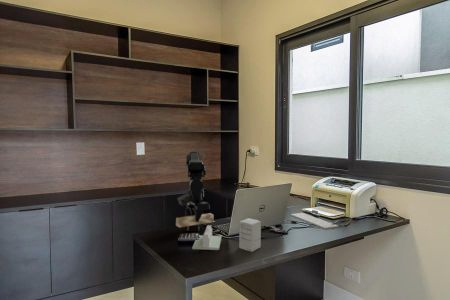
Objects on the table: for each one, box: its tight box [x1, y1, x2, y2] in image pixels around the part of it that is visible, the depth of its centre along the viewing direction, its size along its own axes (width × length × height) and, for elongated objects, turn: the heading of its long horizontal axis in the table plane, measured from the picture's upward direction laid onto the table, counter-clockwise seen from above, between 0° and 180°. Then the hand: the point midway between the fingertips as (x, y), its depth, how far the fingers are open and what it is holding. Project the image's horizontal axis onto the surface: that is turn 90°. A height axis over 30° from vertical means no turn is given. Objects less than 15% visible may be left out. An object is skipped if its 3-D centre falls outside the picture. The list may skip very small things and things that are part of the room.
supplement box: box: [238, 217, 262, 253], centre depth 144 cm, size 7×7×13 cm
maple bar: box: [175, 212, 215, 228], centre depth 148 cm, size 18×4×4 cm, turn 122°
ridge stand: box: [191, 224, 222, 251], centre depth 149 cm, size 16×12×6 cm
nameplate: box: [268, 226, 289, 235], centre depth 176 cm, size 27×2×10 cm
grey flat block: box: [290, 212, 342, 230], centre depth 190 cm, size 31×3×12 cm
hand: (195, 220), depth 148 cm, fingers closed on maple bar, 3 cm apart
